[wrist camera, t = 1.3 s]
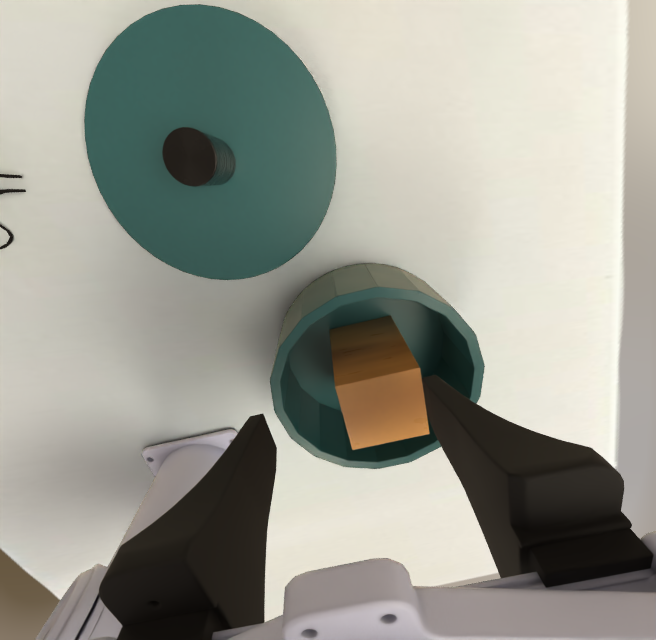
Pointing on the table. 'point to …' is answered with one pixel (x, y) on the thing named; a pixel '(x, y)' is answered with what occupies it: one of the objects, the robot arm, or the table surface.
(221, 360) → the table surface
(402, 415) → the maple block
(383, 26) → the table surface
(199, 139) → the pot lid
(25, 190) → the creature
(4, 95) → the table surface
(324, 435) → the pot
